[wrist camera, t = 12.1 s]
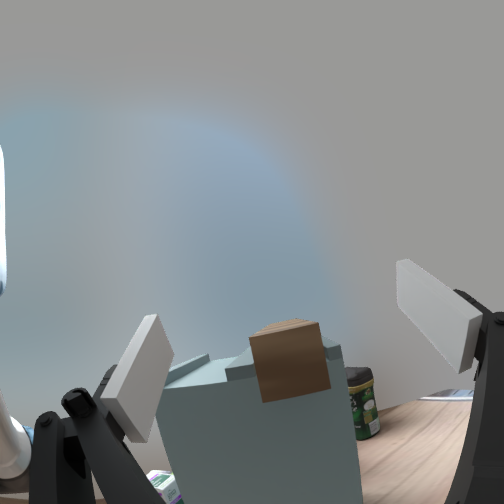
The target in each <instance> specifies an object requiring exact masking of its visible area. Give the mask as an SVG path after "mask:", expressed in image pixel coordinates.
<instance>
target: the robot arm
mask: <svg viewBox="0 0 504 504" xmlns="http://www.w3.org/2000/svg"><path fill="white" fill-rule="evenodd" d="M396 271H397V272H396V273H397V306H398V307H399V308H400V309H401V310H402V311H403V312H404V313H405V315H406V316H407V317H408V318H409V319H410V320H411V321H412V322H413V323H414V324H415V325H416V326H417V328H419V330H420V331H421V332H422V333H423V334H424V335H425V337H426V338H427V339H428V340H429V341H430V342H431V343H432V344H433V346H434V347H435V348H436V349H437V350H438V351H439V352H440V354H441V355H442V356H443V357H444V358H445V359H446V360H447V362H448V363H449V364H450V365H451V366H452V368H453V369H454V370H455V371H456V372H457V373H458V374H460V373H462V372H464V371H466V370H468V369H470V368H471V367H472V363H473V359H474V357H475V358H476V359H477V360H478V361H479V363H478V367H477V370H476V374H475V378H474V381H476V383H475V390H474V396H473V402H472V408H471V413H470V419H469V423H468V428H467V433H466V437H465V441H464V445H463V449H462V453H461V456H460V460H459V463H458V467H457V470H456V473H455V476H454V479H453V482H452V485H451V488H450V491H449V493H448V496H447V499H446V501H445V503H444V504H504V312H495V313H492V312H491V311H490V310H488V309H487V308H486V307H484V306H483V305H482V304H480V303H479V302H477V301H476V300H475V299H474V298H472V297H471V296H470V295H468V294H467V293H465V292H463V291H460V290H457V289H455V290H451V289H450V288H449V287H447V286H446V285H445V284H443V283H442V282H441V281H439V280H438V279H436V278H435V277H434V276H432V275H431V274H429V273H428V272H427V271H425V270H424V269H422V268H421V267H420V266H418V265H417V264H415V263H414V262H412V261H411V260H409V259H408V258H407V259H404V260H400V261H396ZM5 288H6V244H5V190H4V161H3V153H2V148H1V145H0V296H1V295H2V294H3V293H4V291H5ZM173 356H174V352H173V350H172V348H171V345H170V343H169V341H168V338H167V336H166V334H165V331H164V329H163V326H162V324H161V321H160V319H159V316H158V314H153V315H147V316H145V317H144V319H143V321H142V323H141V324H140V326H139V328H138V329H137V331H136V333H135V335H134V336H133V338H132V340H131V342H130V343H129V345H128V347H127V349H126V351H125V352H124V354H123V356H122V358H121V360H120V362H119V363H118V365H113V366H112V367H111V368H110V369H109V370H108V371H107V372H106V374H105V376H104V377H103V380H102V381H101V383H100V386H99V387H98V388H97V390H96V392H95V394H94V395H93V397H91V396H90V394H89V393H88V391H87V390H86V389H84V388H75V389H73V390H71V391H69V392H67V393H66V394H65V395H64V396H63V398H62V400H61V404H62V406H63V407H64V409H65V410H66V411H67V413H68V414H69V416H70V417H68V418H63V419H60V417H59V416H58V415H57V414H56V413H55V412H53V411H49V412H46V413H43V414H42V415H40V416H39V418H38V419H37V420H36V423H35V428H34V430H33V429H32V428H31V427H29V426H24V425H20V424H19V423H18V422H17V421H16V420H15V419H14V418H12V417H11V416H10V415H9V412H8V410H7V407H6V404H5V402H4V399H3V396H2V393H1V390H0V494H13V493H26V492H29V504H96V501H95V496H94V489H93V483H92V475H91V471H92V473H93V475H94V477H95V480H96V482H97V484H98V486H99V488H100V490H101V492H102V494H103V496H104V498H105V500H106V502H107V504H166V502H165V501H164V500H163V498H162V497H161V496H160V494H159V493H158V492H157V490H156V489H155V488H154V486H153V485H152V483H151V482H150V481H149V479H148V478H147V476H146V475H145V474H144V472H143V471H142V469H141V468H140V466H139V465H138V463H137V462H136V460H135V459H134V457H133V455H132V454H131V452H130V451H129V449H128V447H127V446H126V444H125V443H124V442H123V439H124V436H125V435H126V436H127V437H128V439H129V440H130V441H131V442H133V443H134V442H135V443H147V441H148V437H149V434H150V431H151V427H152V424H153V420H154V417H155V414H156V410H157V407H158V404H159V401H160V397H161V394H162V391H163V388H164V385H165V381H166V378H167V375H168V372H169V369H170V366H171V363H172V359H173Z"/></svg>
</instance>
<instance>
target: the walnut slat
mask: <svg viewBox="0 0 504 504" xmlns="http://www.w3.org/2000/svg"><path fill="white" fill-rule="evenodd" d="M249 340H250V346H251V351H252V355H253V360H254V365H255V370H256V374H257V379H258V384H259V388H260V393H261V398H262V402H263V403H266V402H272V401H278V400H283V399H288V398H293V397H298V396H302V395H307V394H311V393H316V392H320V391H324V390H328V389H331V384H330V378H329V373H328V368H327V363H326V357H325V352H324V347H323V342H322V337H321V333H320V328H319V323H318V322H313V321H307V320H301V319H292V320H287V321H283V322H278V323H273V324H270V325H268V326H266V327H265V328H263V329H262V330H260V331H258V332H257V333H255V334H254V335H252V336H250V337H249Z"/></svg>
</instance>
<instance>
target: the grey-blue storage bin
mask: <svg viewBox="0 0 504 504" xmlns="http://www.w3.org/2000/svg"><path fill="white" fill-rule="evenodd" d="M321 337H322V342H323V347H324V352H325V357H326V363H327V368H328V373H329V378H330V384H331V389H328V390H324V391H320V392H316V393H311V394H307V395H302V396H298V397H293V398H288V399H283V400H278V401H272V402H266V403H263V402H262V398H261V393H260V388H259V384H258V379H257V374H256V370H255V365H254V360H253V355H252V351H251V347H249V348H247V349H246V350H245V351H244V352H243V353H242V354H241V355H240V356H238V357H232V358H226V359H221V360H214V361H210V360H209V354H203V355H200V356H198V357H195V358H193V359H190V360H188V361H186V362H183V363H181V364H179V365H177V366H174V367H172V368H170V369H169V372H168V375H167V378H166V381H165V385H164V388H163V391H162V394H161V397H160V401H159V404H158V407H157V410H156V414H155V416H156V419H157V423H158V427H159V430H160V434H161V437H162V440H163V444H164V447H165V450H166V453H167V456H168V460H169V463H170V466H171V468H172V472H173V475H174V477H175V480H176V483H177V486H178V489H179V491H180V494H181V496H182V499H183V502H184V504H363V497H362V486H361V476H360V467H359V459H358V451H357V443H356V435H355V428H354V421H353V415H352V408H351V402H350V396H349V390H348V384H347V378H346V373H345V367H344V362H343V357H342V351H341V346H340V344H338V343H335V342H334V341H332V340H330V339H327V338H325V337H323V336H321Z"/></svg>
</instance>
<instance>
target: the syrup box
mask: <svg viewBox="0 0 504 504" xmlns="http://www.w3.org/2000/svg"><path fill="white" fill-rule="evenodd" d="M146 476H147V478H148V479H149V481H150V482H151V483H152V485H153V486H154V488H155V489H156V490H157V492H158V493H159V494H160V496H161V497H162V498H163V500H164V501H165V502H166V504H184V502H183V499H182V496H181V494H180V491H179V489H178V486H177V483H176V480H175V477H174V475H173V472H169V471H156V470H155V471H154V470H152V471H151V472H150V473H149V474H148V475H146Z"/></svg>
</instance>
